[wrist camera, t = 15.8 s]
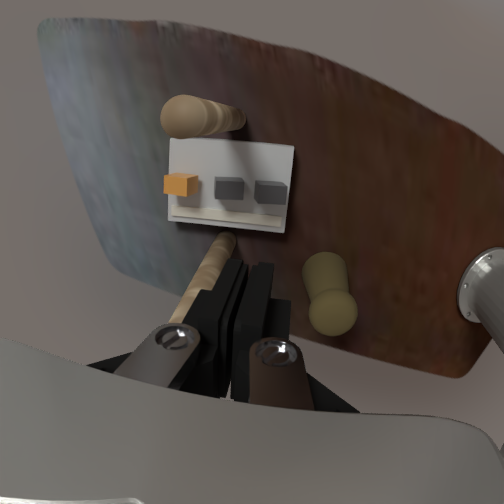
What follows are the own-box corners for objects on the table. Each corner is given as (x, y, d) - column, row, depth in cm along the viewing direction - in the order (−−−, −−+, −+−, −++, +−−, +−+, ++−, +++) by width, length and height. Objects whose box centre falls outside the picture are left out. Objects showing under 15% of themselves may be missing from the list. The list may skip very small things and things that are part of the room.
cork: (329, 300, 43) (339, 353, 33) (292, 279, 42) (293, 329, 32) (356, 266, 41) (376, 313, 31) (318, 243, 40) (329, 285, 30)
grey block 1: (241, 177, 36) (244, 181, 33) (240, 194, 36) (243, 200, 34) (214, 176, 35) (215, 180, 33) (213, 193, 36) (214, 199, 34)
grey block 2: (281, 181, 35) (287, 186, 33) (280, 199, 36) (285, 204, 34) (255, 180, 35) (259, 184, 33) (253, 197, 36) (257, 203, 33)
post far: (237, 231, 40) (197, 326, 22) (235, 250, 41) (198, 354, 23) (216, 229, 41) (162, 321, 22) (215, 248, 42) (164, 348, 23)
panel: (293, 146, 36) (294, 147, 34) (284, 227, 40) (284, 233, 38) (175, 137, 36) (169, 138, 34) (173, 215, 40) (167, 221, 38)
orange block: (198, 175, 35) (187, 178, 33) (197, 192, 36) (186, 196, 34) (175, 172, 36) (164, 175, 34) (175, 189, 37) (163, 193, 35)
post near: (247, 109, 34) (206, 95, 16) (245, 130, 36) (202, 140, 17) (224, 107, 35) (161, 95, 16) (222, 129, 36) (159, 138, 17)
